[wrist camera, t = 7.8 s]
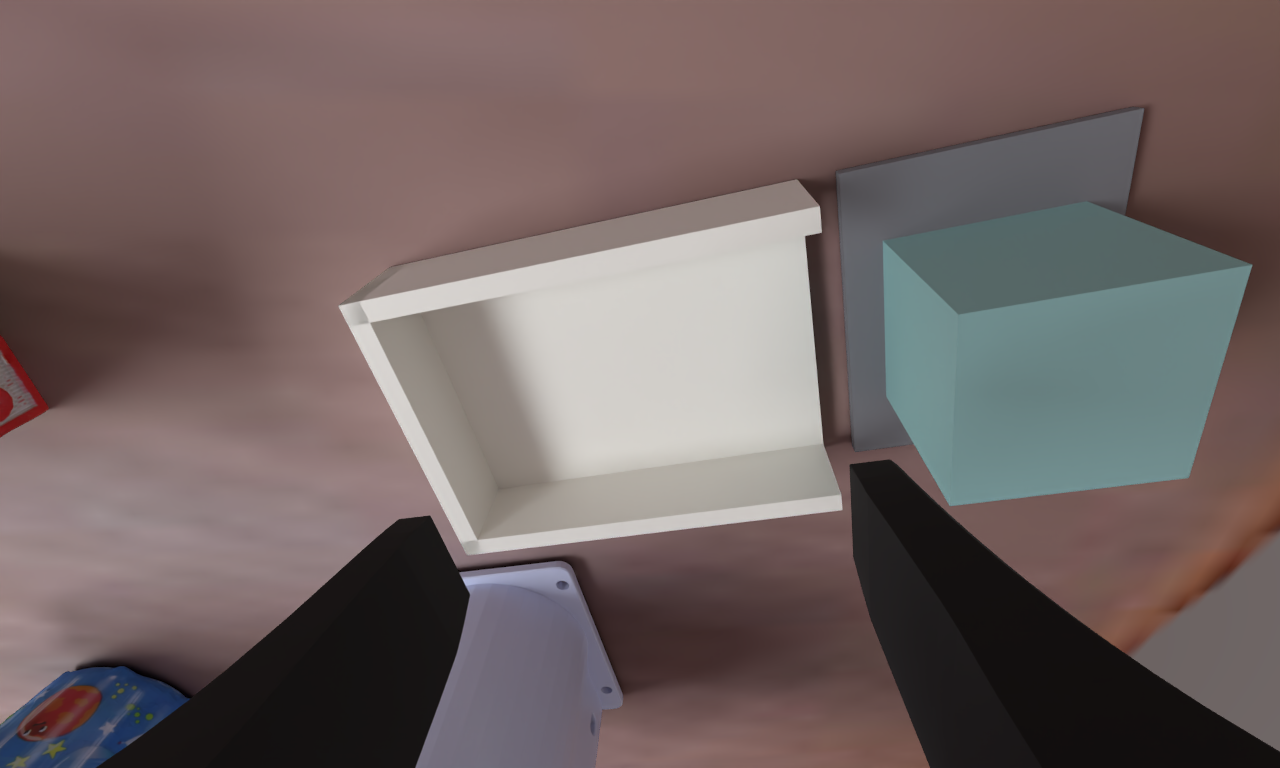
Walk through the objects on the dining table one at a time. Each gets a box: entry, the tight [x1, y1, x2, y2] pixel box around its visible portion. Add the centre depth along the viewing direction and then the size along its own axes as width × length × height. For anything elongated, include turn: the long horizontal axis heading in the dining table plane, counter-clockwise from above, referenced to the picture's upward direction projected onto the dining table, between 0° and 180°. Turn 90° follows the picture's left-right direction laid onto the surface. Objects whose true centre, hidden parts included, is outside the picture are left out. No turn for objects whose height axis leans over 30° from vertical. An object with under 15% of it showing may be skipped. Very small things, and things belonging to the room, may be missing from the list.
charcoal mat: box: [836, 107, 1144, 452], centre depth 17 cm, size 9×7×1 cm
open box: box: [339, 179, 842, 555], centre depth 17 cm, size 9×12×3 cm
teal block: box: [883, 201, 1252, 506], centre depth 14 cm, size 5×5×5 cm
